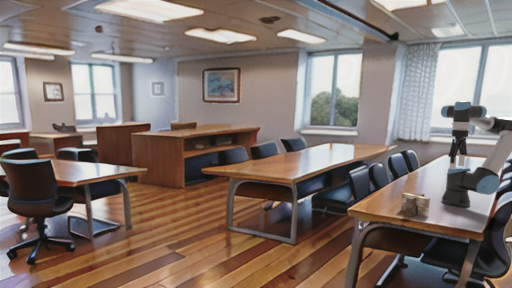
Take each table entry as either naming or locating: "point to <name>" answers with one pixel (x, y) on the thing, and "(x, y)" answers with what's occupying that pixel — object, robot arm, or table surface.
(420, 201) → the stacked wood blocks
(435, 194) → the table surface
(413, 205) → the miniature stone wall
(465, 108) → the robot arm
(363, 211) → the table surface
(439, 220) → the table surface
